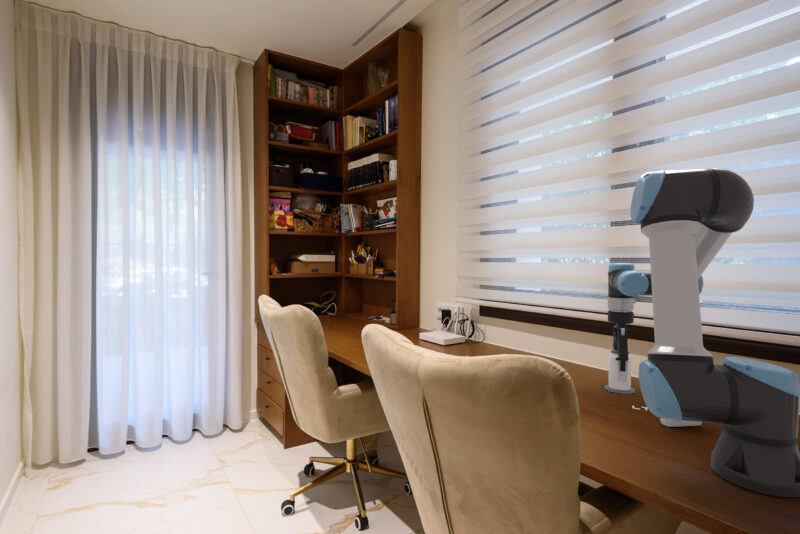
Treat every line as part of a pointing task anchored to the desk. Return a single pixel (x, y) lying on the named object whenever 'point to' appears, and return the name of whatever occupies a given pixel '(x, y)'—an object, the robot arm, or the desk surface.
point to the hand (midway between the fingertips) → (619, 375)
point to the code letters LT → (639, 409)
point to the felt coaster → (619, 391)
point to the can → (613, 373)
